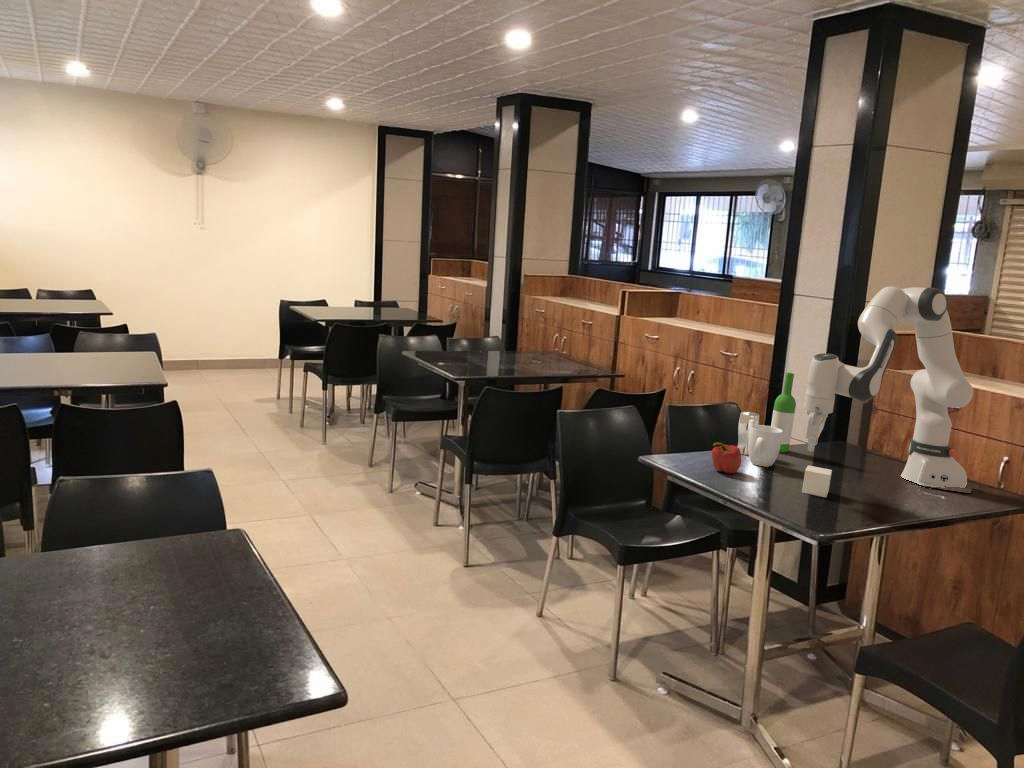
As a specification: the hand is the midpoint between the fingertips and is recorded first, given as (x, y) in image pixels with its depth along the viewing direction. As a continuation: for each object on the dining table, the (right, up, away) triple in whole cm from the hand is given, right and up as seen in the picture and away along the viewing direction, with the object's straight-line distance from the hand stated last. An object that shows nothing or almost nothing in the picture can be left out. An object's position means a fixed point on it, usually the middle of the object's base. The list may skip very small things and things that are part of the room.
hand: (812, 447), depth 260 cm
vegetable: (-24, -9, +15) cm, 30 cm away
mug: (-8, -9, +29) cm, 31 cm away
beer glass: (-9, -6, +43) cm, 45 cm away
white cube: (+1, -14, +1) cm, 14 cm away
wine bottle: (+6, -5, +53) cm, 53 cm away
